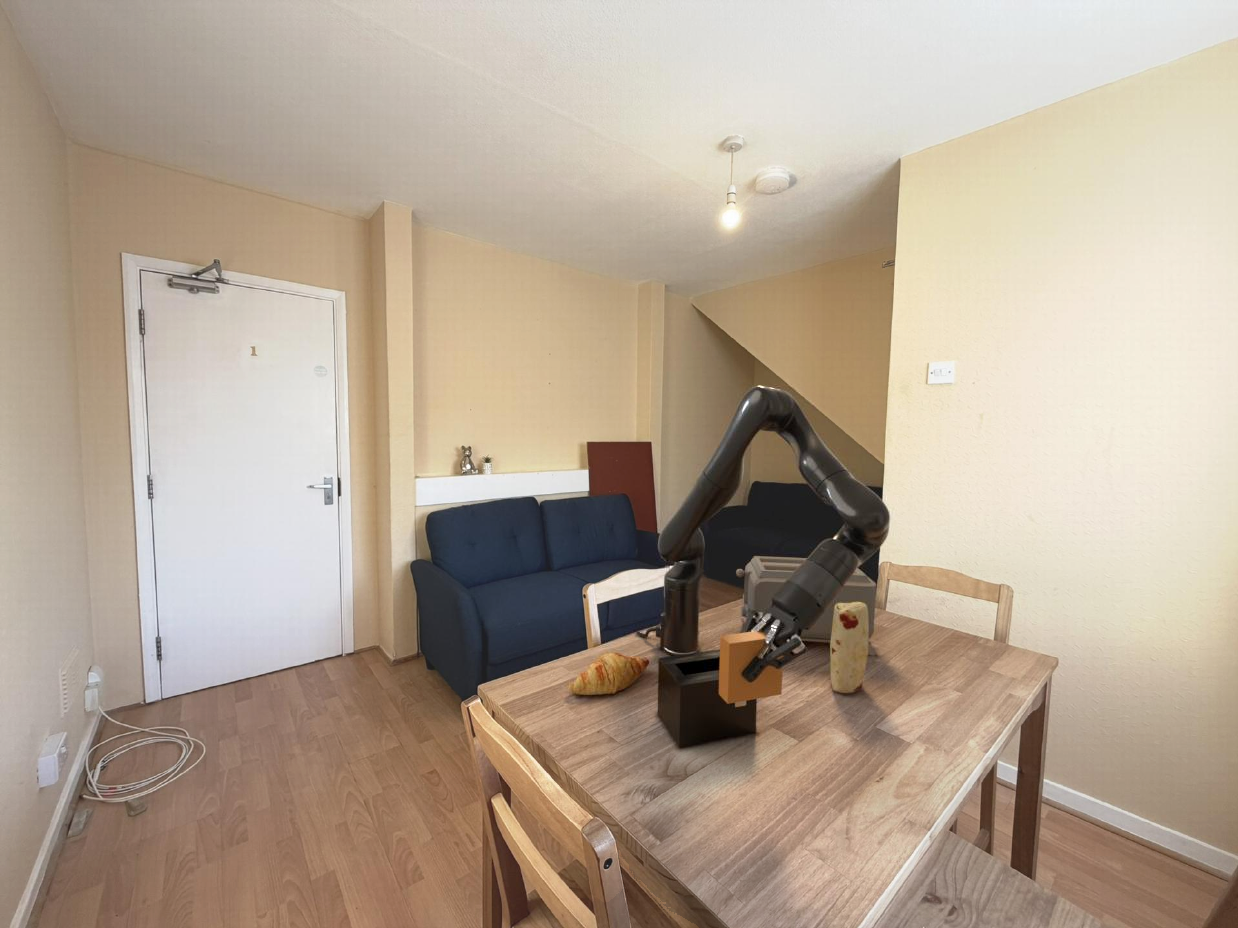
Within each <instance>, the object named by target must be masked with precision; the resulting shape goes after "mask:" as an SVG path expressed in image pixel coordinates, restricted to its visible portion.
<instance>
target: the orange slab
mask: <svg viewBox="0 0 1238 928" xmlns="http://www.w3.org/2000/svg"><path fill="white" fill-rule="evenodd" d="M766 636H767V635H766V634H765V633H764V632H762V631H761V632H756V631H753V632H750V631H749V632H746V633H741V632H738V633H730V634H723V635H720V636H719V637H720V640H719V649H720V667H719V695H720V696H721V697H722V698H723V699H724V700H725V702H726V703H727V704H730V703H735V702H741V701H747V700H753V699H757V700H759V699H763V698H770V697H775V696H781V695H782V690H783V689H782V688H783V669H784V668H783V667H784V666H783V667H781V668H780V669H776V668H775V667H773V666H770V667H766V668H765V669H764V670H763V672H762V673H761V674H760V675H759V676H758V678H757V679H756V680H754V681H753V682H751V683H750V682H748V681H747V680H746V679H745V678H744V677H743V676H742V672H743V670H744V669H745V668H746V667H747V666H748V664H749V663H750V662H751V661H752V660H753V658H754V657H755V656H756V657H757V655H758V653H759V651H760V650H761V648H762V647H763V646H764V641H765V639H766V638H765V637H766ZM773 645H774V644H773ZM774 646H775V645H774ZM775 647H776V646H775ZM778 647H779V646H778ZM778 647H776V648H778ZM769 653H771V650H769V652H768V653H767V654H769ZM782 657H783V656H780V657H778V658H777V659H780V658H782ZM757 658H758V657H757Z"/></svg>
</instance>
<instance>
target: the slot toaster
mask: <svg viewBox="0 0 1238 928" xmlns="http://www.w3.org/2000/svg"><path fill="white" fill-rule="evenodd" d="M657 661H658V663H657V716H658V717H659V719H660V720H661V722H662V723H663V725H664V727H665V728H666V729H667V731H668V733H669V734H670V736H671V738H672V739H673V741H674V743H675V744H676V746H677V747H678V749H683V748H687V747H693V746H699V745H703V744H704V745H705V744H708V743H714V742H718V741H723V740H728V739H734V738H738V737H744V736H748V735H749V736H750V735H753V734H757V709H758V707H757V706H758V705H757V704H758V699H753V700H747V701H741V702H735V703H730V704H727V703H726V702H725V700H724V699H723V698H722V697H721V696H720V695H719V667H720V648H719V649H712V650H705V651H698V652H697V653H690V654H683V655H676V656H674V655H669V656H662V657H658V660H657Z"/></svg>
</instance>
